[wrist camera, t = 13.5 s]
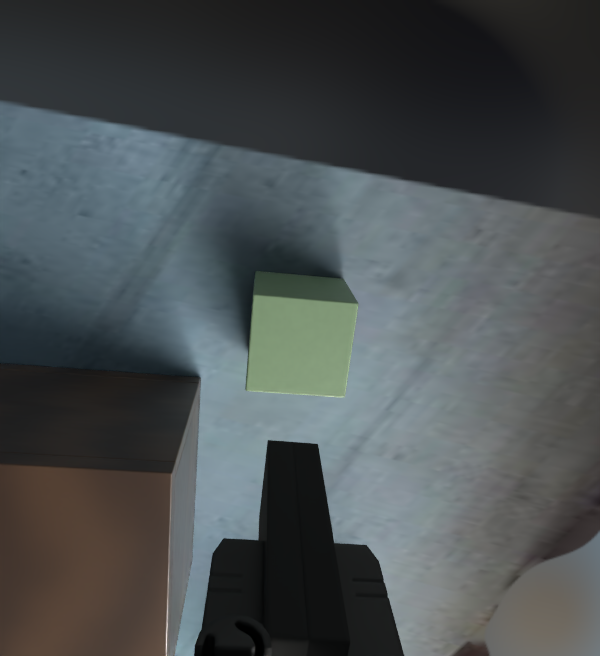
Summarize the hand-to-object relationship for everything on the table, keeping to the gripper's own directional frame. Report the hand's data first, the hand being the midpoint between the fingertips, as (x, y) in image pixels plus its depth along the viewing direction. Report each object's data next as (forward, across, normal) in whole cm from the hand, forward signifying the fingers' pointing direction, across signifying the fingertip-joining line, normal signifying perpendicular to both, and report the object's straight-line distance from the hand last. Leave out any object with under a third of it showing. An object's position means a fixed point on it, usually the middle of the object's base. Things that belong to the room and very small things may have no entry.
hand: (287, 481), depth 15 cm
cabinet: (+15, -12, -10) cm, 22 cm away
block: (+15, +1, +1) cm, 15 cm away
